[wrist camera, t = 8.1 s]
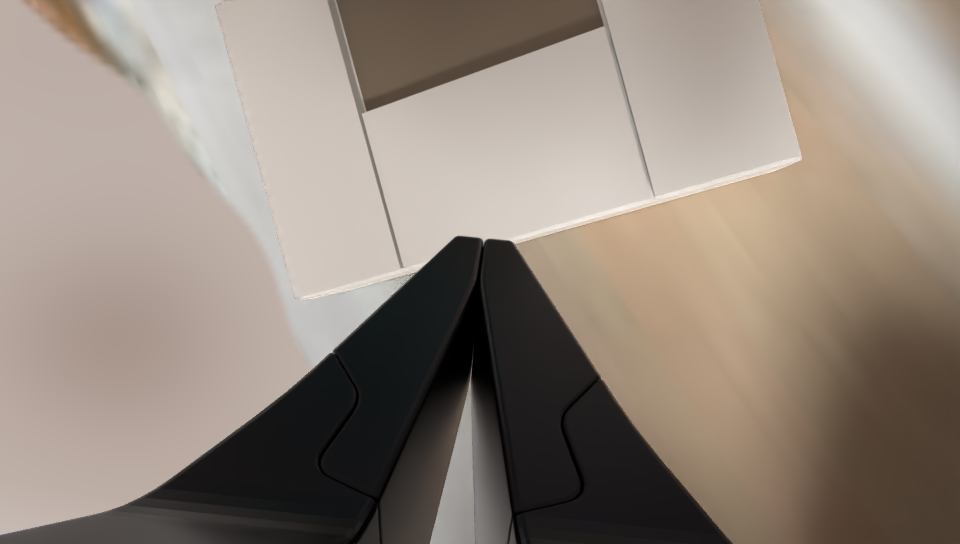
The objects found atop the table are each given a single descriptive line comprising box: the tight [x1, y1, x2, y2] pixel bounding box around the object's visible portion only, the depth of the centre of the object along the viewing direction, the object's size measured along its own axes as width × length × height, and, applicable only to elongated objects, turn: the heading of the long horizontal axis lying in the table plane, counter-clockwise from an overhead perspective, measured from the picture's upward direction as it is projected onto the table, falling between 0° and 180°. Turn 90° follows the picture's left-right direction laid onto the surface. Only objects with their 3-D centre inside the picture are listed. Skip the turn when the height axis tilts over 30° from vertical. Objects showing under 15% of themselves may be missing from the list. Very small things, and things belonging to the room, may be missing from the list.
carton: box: [215, 0, 802, 301], centre depth 18 cm, size 9×14×4 cm, turn 106°
